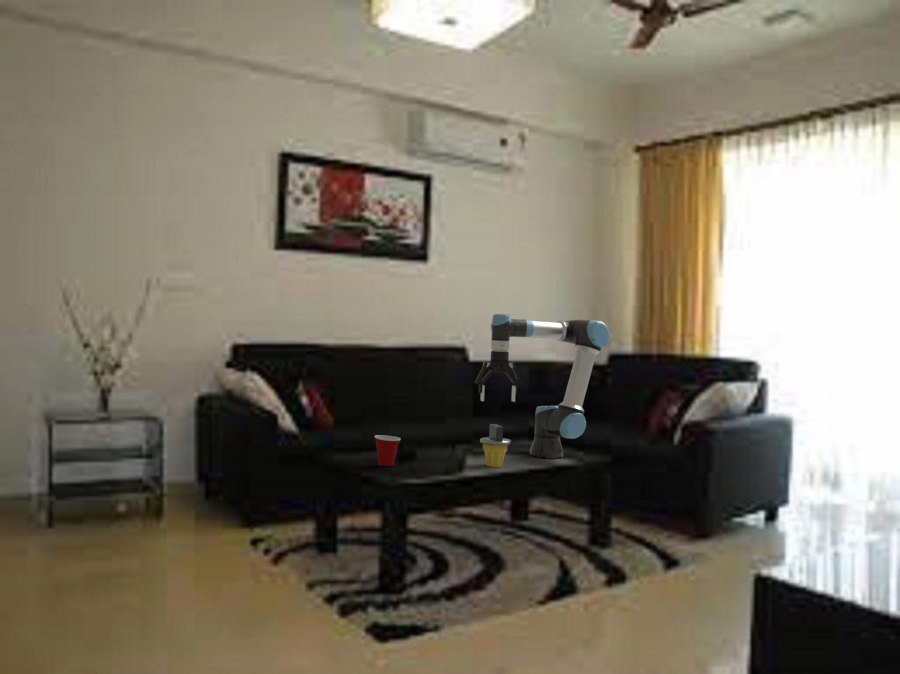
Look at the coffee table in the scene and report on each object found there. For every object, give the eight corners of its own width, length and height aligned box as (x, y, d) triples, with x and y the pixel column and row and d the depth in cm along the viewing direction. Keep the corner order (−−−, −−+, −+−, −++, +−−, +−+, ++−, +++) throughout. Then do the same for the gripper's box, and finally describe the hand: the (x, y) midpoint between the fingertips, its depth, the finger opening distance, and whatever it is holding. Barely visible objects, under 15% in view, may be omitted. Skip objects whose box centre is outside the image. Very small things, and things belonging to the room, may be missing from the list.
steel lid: (505, 440, 346) (506, 423, 346) (515, 445, 333) (516, 428, 333) (476, 440, 342) (477, 423, 342) (485, 445, 330) (486, 427, 330)
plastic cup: (401, 468, 322) (402, 438, 322) (374, 468, 320) (375, 438, 320) (398, 463, 333) (399, 434, 332) (372, 463, 331) (373, 434, 331)
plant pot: (504, 468, 332) (505, 445, 332) (480, 466, 334) (481, 443, 334) (507, 464, 342) (509, 441, 342) (484, 462, 344) (485, 439, 344)
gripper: (473, 350, 330) (471, 401, 331) (531, 352, 336) (528, 402, 337) (468, 349, 337) (466, 399, 338) (525, 351, 343) (523, 400, 344)
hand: (497, 401), depth 337 cm, fingers open, 13 cm apart
